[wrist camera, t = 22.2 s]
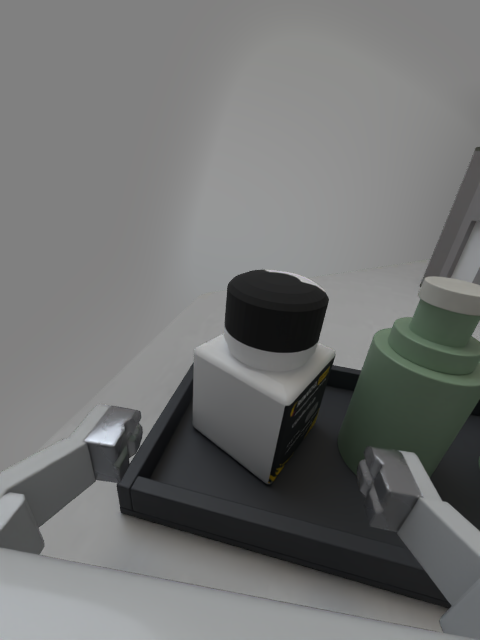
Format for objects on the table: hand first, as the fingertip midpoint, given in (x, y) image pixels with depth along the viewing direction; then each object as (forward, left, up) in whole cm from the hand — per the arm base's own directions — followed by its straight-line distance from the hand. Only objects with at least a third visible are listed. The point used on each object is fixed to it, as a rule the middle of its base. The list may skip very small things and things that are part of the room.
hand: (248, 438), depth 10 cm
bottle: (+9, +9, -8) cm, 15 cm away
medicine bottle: (0, +9, -9) cm, 12 cm away
